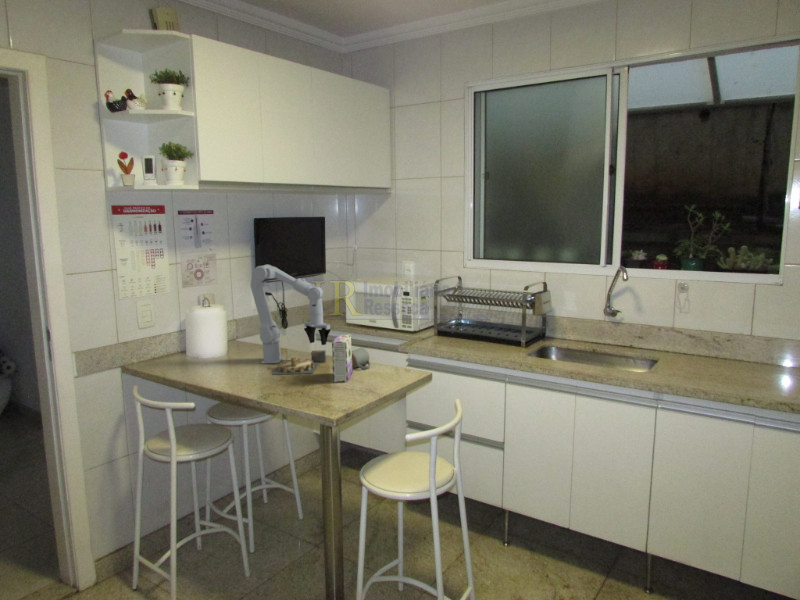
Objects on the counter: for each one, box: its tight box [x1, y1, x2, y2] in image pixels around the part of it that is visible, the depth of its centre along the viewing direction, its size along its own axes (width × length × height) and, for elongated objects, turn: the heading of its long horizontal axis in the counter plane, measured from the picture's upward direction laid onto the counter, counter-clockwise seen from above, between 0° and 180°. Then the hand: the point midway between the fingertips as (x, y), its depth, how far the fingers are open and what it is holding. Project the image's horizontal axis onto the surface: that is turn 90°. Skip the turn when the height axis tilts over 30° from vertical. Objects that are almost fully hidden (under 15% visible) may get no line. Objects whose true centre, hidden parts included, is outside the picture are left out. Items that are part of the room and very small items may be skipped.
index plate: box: [271, 362, 320, 376], centre depth 237 cm, size 17×17×1 cm
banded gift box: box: [310, 349, 327, 364], centre depth 247 cm, size 3×6×5 cm, turn 89°
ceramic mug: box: [352, 347, 371, 370], centre depth 236 cm, size 11×8×8 cm
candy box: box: [331, 334, 354, 383], centre depth 221 cm, size 14×6×16 cm, turn 177°
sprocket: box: [277, 357, 314, 373], centre depth 236 cm, size 15×15×6 cm
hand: (317, 343), depth 246 cm, fingers open, 7 cm apart
